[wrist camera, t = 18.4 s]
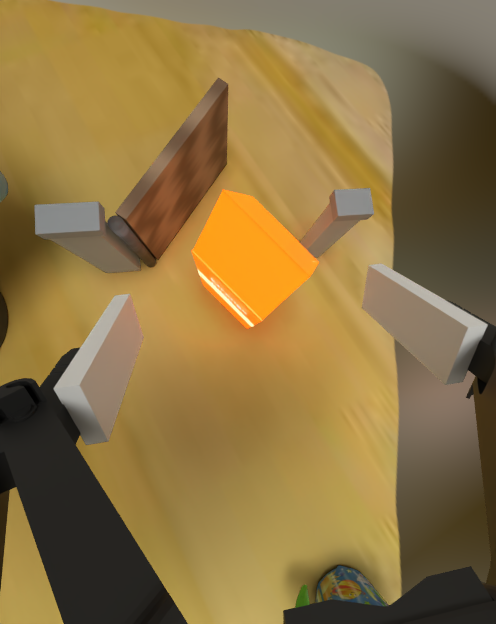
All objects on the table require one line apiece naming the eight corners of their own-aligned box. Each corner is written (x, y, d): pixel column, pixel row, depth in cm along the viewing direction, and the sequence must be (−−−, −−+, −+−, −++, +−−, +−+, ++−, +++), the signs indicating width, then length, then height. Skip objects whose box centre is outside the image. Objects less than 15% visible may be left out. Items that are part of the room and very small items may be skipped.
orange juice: (246, 330, 38) (272, 317, 18) (202, 285, 38) (179, 223, 18) (284, 291, 39) (348, 239, 19) (241, 248, 39) (260, 152, 19)
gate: (152, 268, 37) (117, 233, 25) (136, 259, 37) (94, 218, 25) (227, 163, 40) (229, 84, 28) (212, 154, 40) (208, 71, 28)
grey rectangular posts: (107, 275, 37) (35, 234, 23) (106, 256, 37) (34, 204, 23) (320, 258, 40) (374, 213, 26) (318, 242, 40) (369, 188, 26)
